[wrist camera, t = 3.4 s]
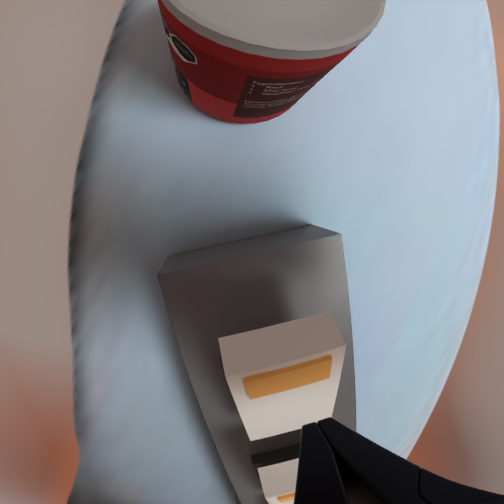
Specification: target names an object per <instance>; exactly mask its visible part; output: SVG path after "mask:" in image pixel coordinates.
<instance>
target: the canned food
mask: <svg viewBox="0 0 504 504" xmlns="http://www.w3.org/2000/svg"><path fill="white" fill-rule="evenodd" d="M385 2H386V1H385V0H158V4H159V8H160V12H161V16H162V20H163V24H164V28H165V31H166V35H167V39H168V43H169V47H170V51H171V55H172V58H173V62H174V66H175V70H176V74H177V77H178V81H179V84H180V86H181V88H182V89H183V91H184V93H185V94H186V96H187V97H188V98H189V99H190V100H191V101H192V103H194V104H195V105H196V106H197V107H199V108H200V109H201V110H202V111H204V112H206V113H208V114H209V115H211V116H213V117H216V118H218V119H221V120H224V121H228V122H234V123H240V124H242V123H258V122H264V121H268V120H270V119H273V118H275V117H278V116H279V115H281V114H283V113H284V112H286V111H287V110H289V109H290V108H291V107H292V106H293V105H294V104H295V103H296V102H297V101H298V100H299V99H300V98H301V97H302V96H303V95H304V94H305V93H306V92H307V91H309V90H310V89H311V88H312V87H313V86H314V85H315V84H316V83H317V82H318V81H319V80H320V79H322V78H323V77H324V76H325V75H326V74H327V73H328V72H329V71H330V70H331V69H333V68H334V67H335V66H336V65H337V64H338V63H339V62H340V61H342V60H343V59H344V58H345V57H346V56H347V55H348V54H349V53H350V52H352V51H353V50H354V49H355V48H356V47H357V46H358V45H359V44H360V43H361V42H362V41H363V40H364V39H365V38H366V37H368V36H369V35H370V33H371V32H372V30H373V29H374V28H375V27H376V26H377V24H378V22H379V20H380V19H381V17H382V15H383V12H384V7H385Z"/></svg>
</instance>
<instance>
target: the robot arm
mask: <svg viewBox="0 0 504 504" xmlns="http://www.w3.org/2000/svg"><path fill="white" fill-rule="evenodd" d="M294 504H504V495H501V494H496V493H492V492H488V491H484V490H480V489H477V488H473V487H469V486H466V485H462V484H460V483H457V482H454V481H451V480H448V479H445V478H443V477H441V476H438V475H436V474H434V473H432V472H430V471H428V470H425V469H423V468H421V469H420V467H419V466H417V465H415V464H413V463H411V462H409V461H408V460H406V459H404V458H402V457H400V456H398V455H396V454H394V453H392V452H391V451H389V450H387V449H385V448H383V447H381V446H380V445H378V444H376V443H374V442H373V441H371V440H369V439H367V438H365V437H364V436H362V435H360V434H359V433H357V432H355V431H353V430H352V429H350V428H348V427H347V426H345V425H343V424H342V423H340V422H338V421H337V420H335V419H333V418H331V417H328V418H325V419H322V420H319V421H318V422H317V423H316V422H312V423H309V424H305V425H303V426H302V431H301V442H300V452H299V462H298V471H297V480H296V488H295V496H294Z"/></svg>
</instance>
